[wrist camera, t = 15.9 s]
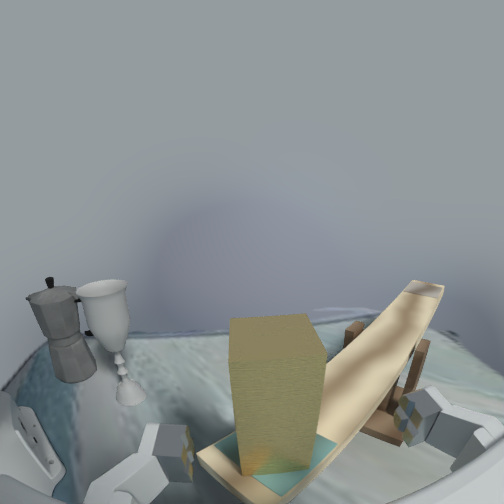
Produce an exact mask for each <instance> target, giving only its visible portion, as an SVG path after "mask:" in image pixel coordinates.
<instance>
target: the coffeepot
mask: <svg viewBox="0 0 504 504" xmlns="http://www.w3.org/2000/svg"><path fill="white" fill-rule="evenodd" d="M45 281H46V284H47V286H48V288H47V289H45V290H43V291H41V292H37V293H33V294H31V295H29V296H28V297H27V298H26V300H28V301H29V303H30V305H31V308H32V310H33V312H34V315H35V317H36V319H37V321H38V324H39V325H40V328H41V330H42V332H43V334H44V336H46V337H47V338H48V341H49V350H50V354H51V359H52V364H53V368H54V372H55V376H56V378H58V379H59V380H61V381H63V382H66V383H77V382H81V381H84V380H86V379H88V378H89V377H91V376H92V375H93V374H94V372H95V371H96V370H97V369H96V361H95V358H94V356H93V354H92V353H91V351H90V349H89V347H88V345H87V343H86V341H85V339H84V337H83V335H82V334H81V332H80V322H79V314H78V306H77V302H82V301H81V300H80V298H79V297H78V296H77V294H76V291H77V290H76V287H69V286H55V287H54V279H53V277H48V278H46V279H45ZM85 334H86V335H87V336H94V335H93V334H92V332H91V331H90V330H89V331H85Z"/></svg>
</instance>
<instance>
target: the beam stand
mask: <svg viewBox="0 0 504 504" xmlns="http://www.w3.org/2000/svg"><path fill="white" fill-rule="evenodd" d="M363 328H364V323H363V322H359V321H355V322H354V323H353V324H352V325H351V326H349V327H348V328H347V329H346V330H345V338H344V346H343V349H344V348H346V347H347V346H348V345H349V344H350V343H351V342H352V341H353V340H354V339H355V338H357V337H358V336H359V335H360V334H361V333H362V332H363ZM429 344H430V341H429V340H425V339H421V341H420V343H419V344H418V346H417V348H416V350H415V353H414V357H413V360H412V364H411V367H410V371H409V374H408V378H407V381H406V384H405V387H404V388H402V387H398V386H397V383H398V379H399V377H398V378H397V380H396V381H395V383H394V384H393V386H392V387H391V389H390V390H389V392H388V393H387V394H386V396H385V397H384V399H383V400H382V402H381V403H380V404H379V406H378V407H377V408H376V410H375V411H374V412H373V414H372V415H371V416H370V418H369V419H368V420H367V421H366V423H365V424H364V425H363V426H362V428H361V429H360V430H359V431H361V432H363V433H366V434H368V435H371V436H373V437H376V438H378V439H381V440H383V441H386V442H388V443H391V444H394V445H397V446H399V447H400V445H401V444H402V442H403V440H404V439H403V438H402V435H403V432H401V431H399V430H397V428H396V427H395V424H394V418H393V416H394V412H395V410H396V409H397V408H398V407H399V403H398V401H399V398H400V397H401V396H402V395H404V394H407V393H410V392H413V391H415V389H416V387H417V384H418V381H419V378H420V375H421V372H422V369H423V365H424V362H425V359H426V355H427V352H428V348H429ZM399 376H400V375H399Z"/></svg>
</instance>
